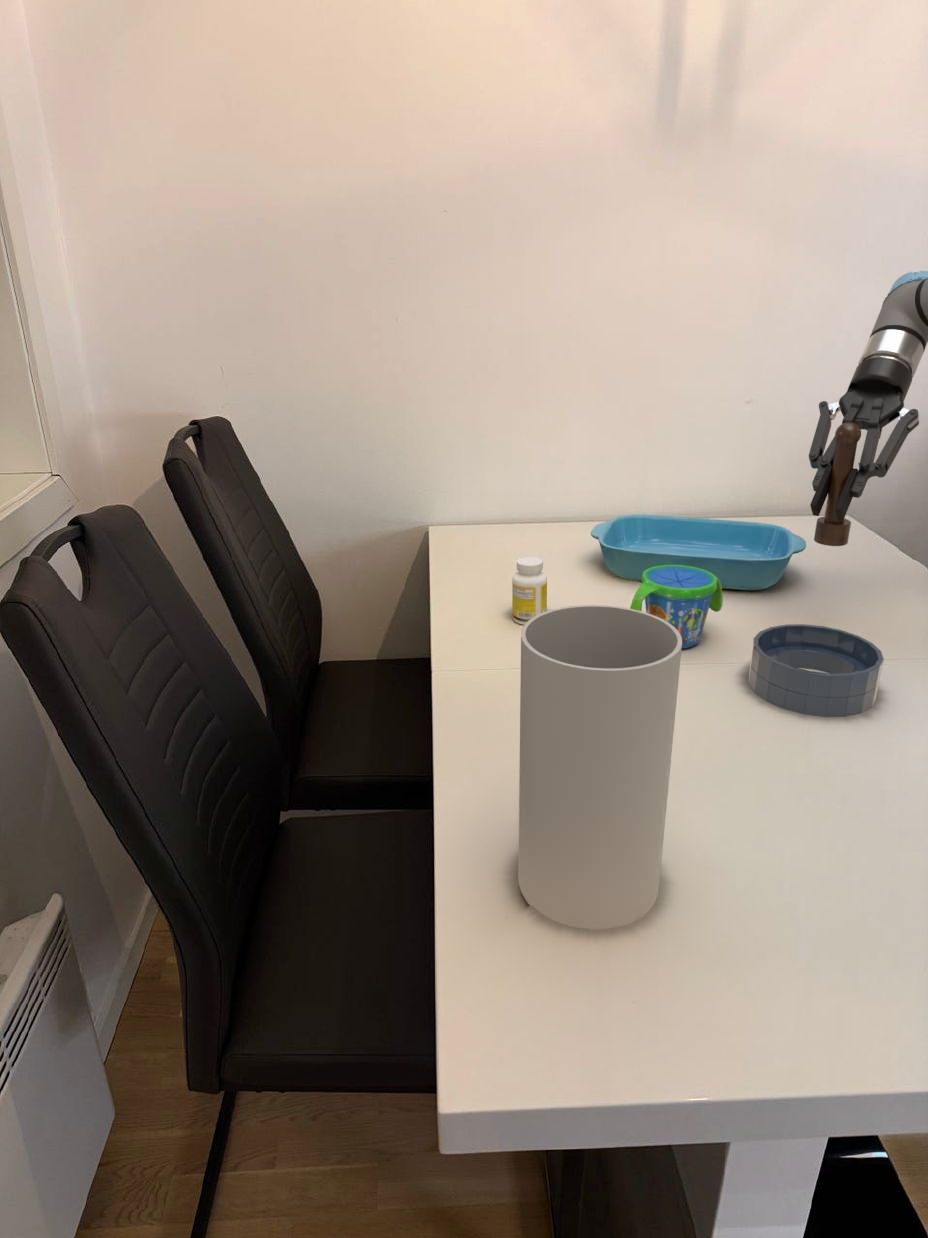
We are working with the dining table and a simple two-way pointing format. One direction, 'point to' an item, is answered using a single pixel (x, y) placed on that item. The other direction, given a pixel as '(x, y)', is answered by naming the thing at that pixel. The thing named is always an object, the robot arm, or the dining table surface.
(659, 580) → the snack cup
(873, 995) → the dining table surface
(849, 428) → the pestle
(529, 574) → the supplement bottle
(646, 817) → the cylinder vase
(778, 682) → the ring
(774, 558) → the casserole dish
